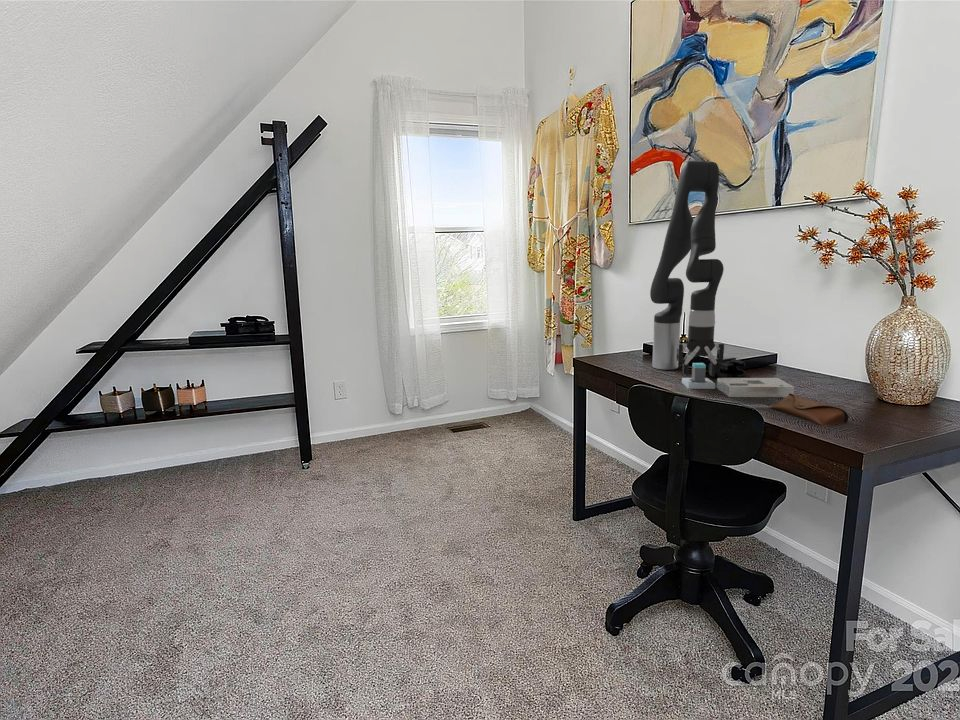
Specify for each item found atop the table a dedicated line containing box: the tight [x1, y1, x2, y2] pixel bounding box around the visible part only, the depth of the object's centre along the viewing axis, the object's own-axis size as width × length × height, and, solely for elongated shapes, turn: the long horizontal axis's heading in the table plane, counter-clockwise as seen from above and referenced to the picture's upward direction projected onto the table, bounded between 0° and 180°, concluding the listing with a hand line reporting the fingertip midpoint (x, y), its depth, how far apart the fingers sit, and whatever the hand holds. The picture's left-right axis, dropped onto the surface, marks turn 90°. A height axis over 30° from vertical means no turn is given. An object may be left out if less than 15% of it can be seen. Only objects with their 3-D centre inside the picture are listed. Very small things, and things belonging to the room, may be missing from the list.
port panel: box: [716, 377, 795, 399], centre depth 164 cm, size 18×11×4 cm, turn 84°
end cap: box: [707, 357, 746, 378], centre depth 184 cm, size 10×7×7 cm
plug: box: [691, 362, 707, 383], centre depth 172 cm, size 3×3×7 cm
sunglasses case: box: [768, 393, 849, 427], centre depth 144 cm, size 18×7×7 cm, turn 18°
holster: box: [681, 377, 716, 390], centre depth 173 cm, size 8×8×2 cm
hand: (698, 375), depth 172 cm, fingers open, 7 cm apart
